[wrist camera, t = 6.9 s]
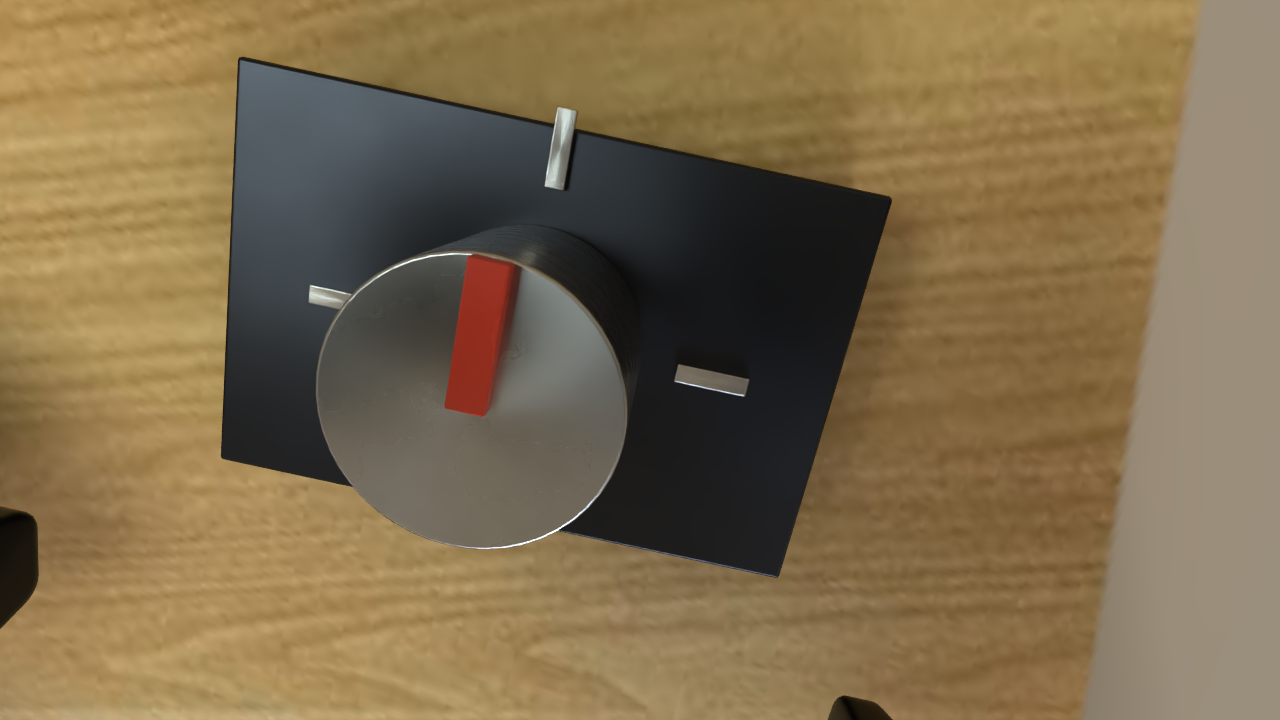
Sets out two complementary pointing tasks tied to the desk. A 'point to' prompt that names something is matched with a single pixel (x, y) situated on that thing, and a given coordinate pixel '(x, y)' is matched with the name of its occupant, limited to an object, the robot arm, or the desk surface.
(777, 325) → the lock panel
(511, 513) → the lock knob
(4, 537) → the robot arm
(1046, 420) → the desk surface
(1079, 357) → the desk surface
